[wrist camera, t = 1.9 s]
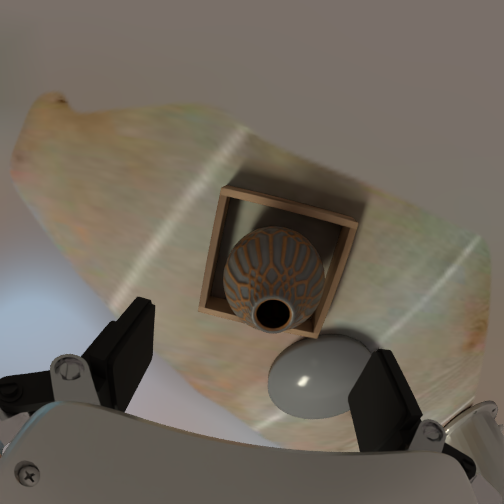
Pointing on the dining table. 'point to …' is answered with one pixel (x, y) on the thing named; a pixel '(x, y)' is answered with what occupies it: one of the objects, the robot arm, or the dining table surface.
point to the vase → (273, 279)
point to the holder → (349, 225)
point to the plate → (317, 376)
